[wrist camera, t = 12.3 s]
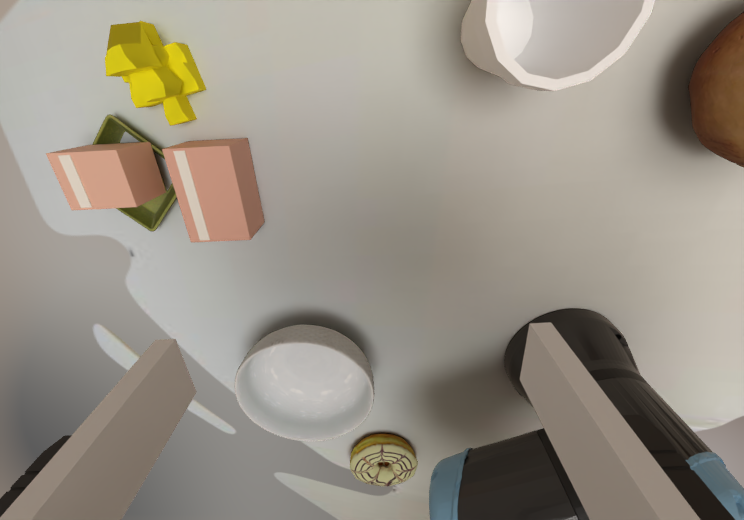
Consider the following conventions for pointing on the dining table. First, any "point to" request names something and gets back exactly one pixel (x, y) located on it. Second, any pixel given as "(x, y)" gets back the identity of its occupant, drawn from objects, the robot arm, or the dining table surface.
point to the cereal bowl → (305, 383)
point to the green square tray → (158, 207)
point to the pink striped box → (216, 189)
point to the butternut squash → (721, 94)
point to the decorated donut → (383, 460)
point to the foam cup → (550, 38)
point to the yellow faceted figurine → (154, 69)
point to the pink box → (108, 175)
